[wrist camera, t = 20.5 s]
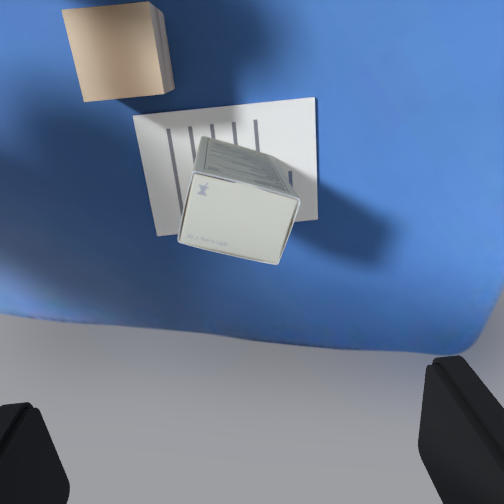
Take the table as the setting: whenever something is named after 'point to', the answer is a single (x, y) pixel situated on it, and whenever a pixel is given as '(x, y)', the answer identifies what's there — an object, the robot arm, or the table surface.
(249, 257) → the skincare box
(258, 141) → the letter
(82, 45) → the block
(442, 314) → the table surface
